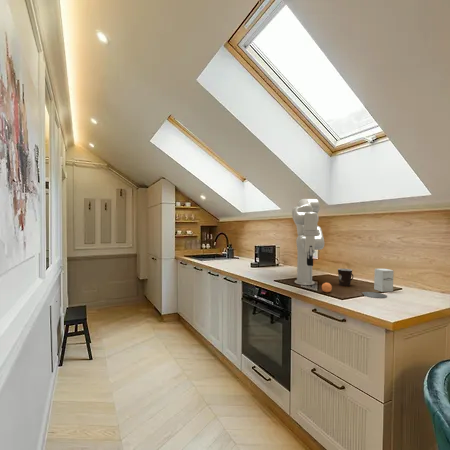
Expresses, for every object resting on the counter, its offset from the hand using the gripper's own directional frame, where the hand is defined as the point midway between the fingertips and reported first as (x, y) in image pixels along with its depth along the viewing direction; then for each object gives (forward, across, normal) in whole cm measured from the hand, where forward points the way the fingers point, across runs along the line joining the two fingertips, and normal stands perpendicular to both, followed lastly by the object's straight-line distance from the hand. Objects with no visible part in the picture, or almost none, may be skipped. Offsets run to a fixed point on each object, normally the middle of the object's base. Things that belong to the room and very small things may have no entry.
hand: (309, 264), depth 170 cm
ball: (+13, 0, +10) cm, 16 cm away
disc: (+15, 0, +34) cm, 38 cm away
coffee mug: (+16, -22, +24) cm, 36 cm away
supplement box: (+16, -14, +44) cm, 48 cm away
